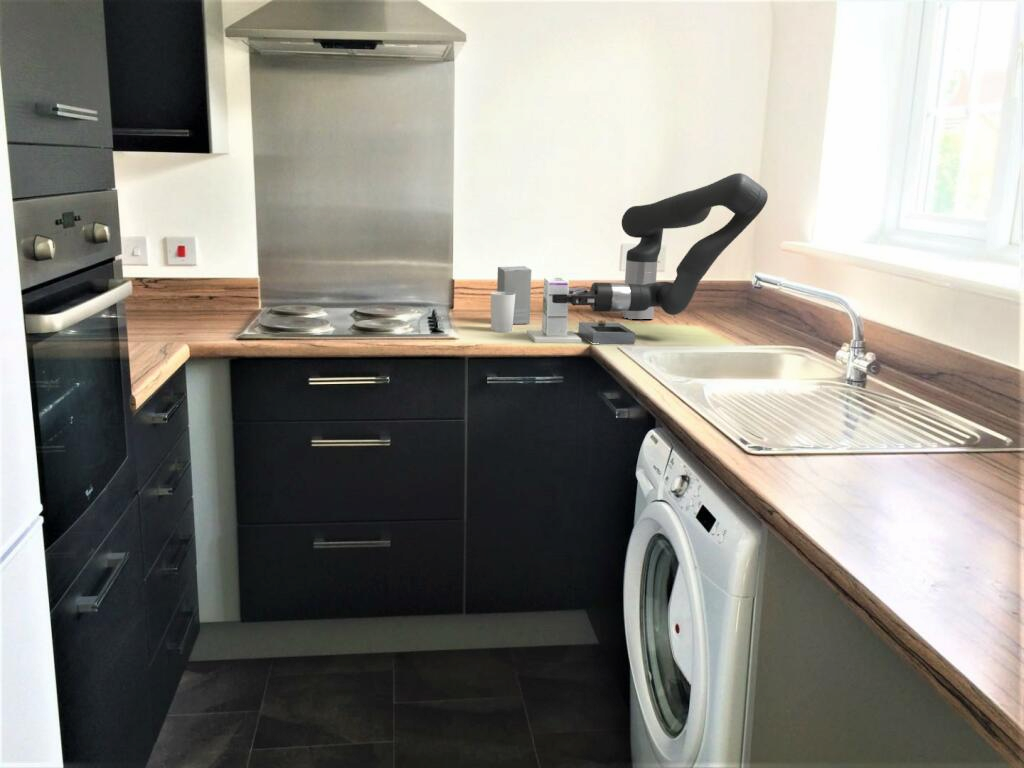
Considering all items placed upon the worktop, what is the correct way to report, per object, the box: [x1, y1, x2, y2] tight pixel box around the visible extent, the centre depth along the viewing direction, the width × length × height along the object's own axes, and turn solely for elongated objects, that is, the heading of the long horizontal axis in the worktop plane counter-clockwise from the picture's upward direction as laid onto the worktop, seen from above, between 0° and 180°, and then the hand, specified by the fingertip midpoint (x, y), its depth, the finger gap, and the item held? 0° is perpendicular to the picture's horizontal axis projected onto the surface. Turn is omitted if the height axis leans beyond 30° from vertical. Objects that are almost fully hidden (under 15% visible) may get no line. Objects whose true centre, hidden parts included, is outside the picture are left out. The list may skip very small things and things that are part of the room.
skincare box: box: [496, 265, 533, 325], centre depth 263 cm, size 8×7×16 cm
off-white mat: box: [526, 329, 582, 344], centre depth 243 cm, size 12×12×1 cm
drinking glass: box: [490, 291, 515, 333], centre depth 251 cm, size 7×7×10 cm
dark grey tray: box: [577, 319, 636, 344], centre depth 245 cm, size 16×11×4 cm
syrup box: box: [541, 277, 570, 336], centre depth 242 cm, size 6×6×14 cm
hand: (549, 296), depth 241 cm, fingers open, 8 cm apart
